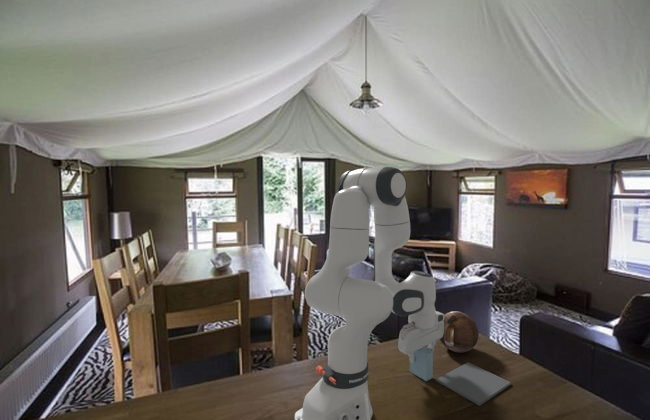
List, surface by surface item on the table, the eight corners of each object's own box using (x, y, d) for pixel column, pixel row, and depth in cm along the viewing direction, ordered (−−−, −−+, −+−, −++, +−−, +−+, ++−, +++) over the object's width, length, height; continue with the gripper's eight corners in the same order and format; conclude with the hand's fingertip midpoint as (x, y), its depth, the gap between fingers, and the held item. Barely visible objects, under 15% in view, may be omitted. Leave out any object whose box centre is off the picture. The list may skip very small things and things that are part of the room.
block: (426, 381, 109) (426, 355, 109) (409, 371, 115) (409, 346, 114) (432, 377, 111) (433, 351, 111) (416, 368, 117) (416, 343, 116)
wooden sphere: (457, 338, 140) (457, 303, 139) (487, 355, 126) (488, 316, 125) (428, 345, 134) (429, 309, 133) (456, 363, 120) (457, 323, 119)
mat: (479, 405, 97) (479, 403, 97) (436, 381, 109) (436, 378, 109) (510, 384, 107) (510, 382, 107) (468, 364, 119) (468, 362, 119)
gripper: (408, 330, 104) (408, 372, 105) (447, 313, 116) (447, 351, 117) (393, 323, 109) (393, 363, 110) (432, 308, 121) (431, 344, 122)
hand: (421, 357), depth 114 cm, fingers open, 8 cm apart
